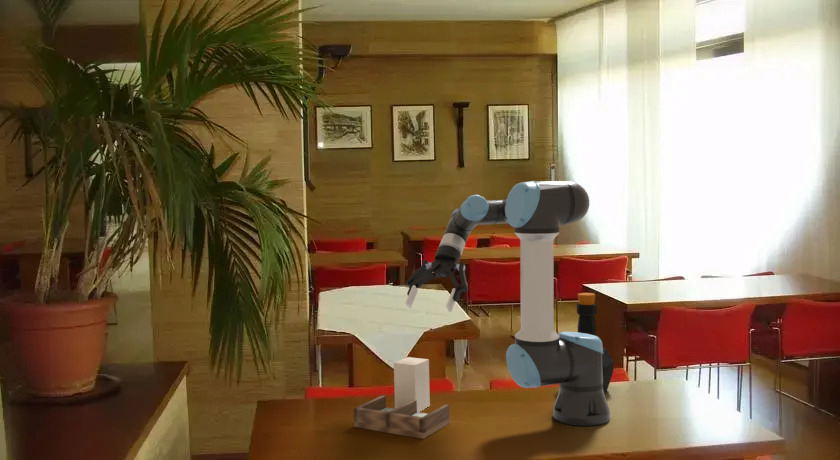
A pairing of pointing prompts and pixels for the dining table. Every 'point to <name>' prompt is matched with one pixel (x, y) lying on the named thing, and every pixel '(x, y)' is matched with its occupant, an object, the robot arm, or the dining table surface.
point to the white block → (412, 382)
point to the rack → (400, 418)
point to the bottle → (593, 331)
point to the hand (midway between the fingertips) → (428, 307)
